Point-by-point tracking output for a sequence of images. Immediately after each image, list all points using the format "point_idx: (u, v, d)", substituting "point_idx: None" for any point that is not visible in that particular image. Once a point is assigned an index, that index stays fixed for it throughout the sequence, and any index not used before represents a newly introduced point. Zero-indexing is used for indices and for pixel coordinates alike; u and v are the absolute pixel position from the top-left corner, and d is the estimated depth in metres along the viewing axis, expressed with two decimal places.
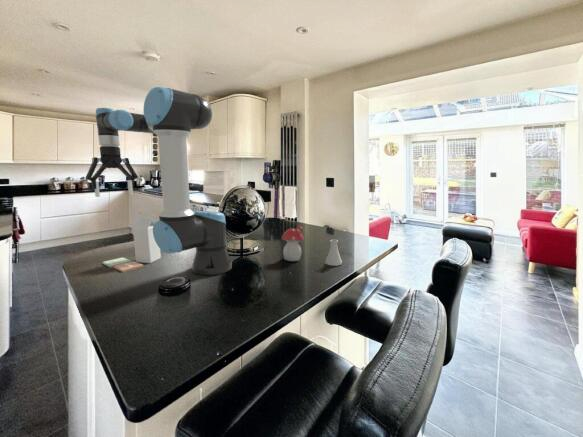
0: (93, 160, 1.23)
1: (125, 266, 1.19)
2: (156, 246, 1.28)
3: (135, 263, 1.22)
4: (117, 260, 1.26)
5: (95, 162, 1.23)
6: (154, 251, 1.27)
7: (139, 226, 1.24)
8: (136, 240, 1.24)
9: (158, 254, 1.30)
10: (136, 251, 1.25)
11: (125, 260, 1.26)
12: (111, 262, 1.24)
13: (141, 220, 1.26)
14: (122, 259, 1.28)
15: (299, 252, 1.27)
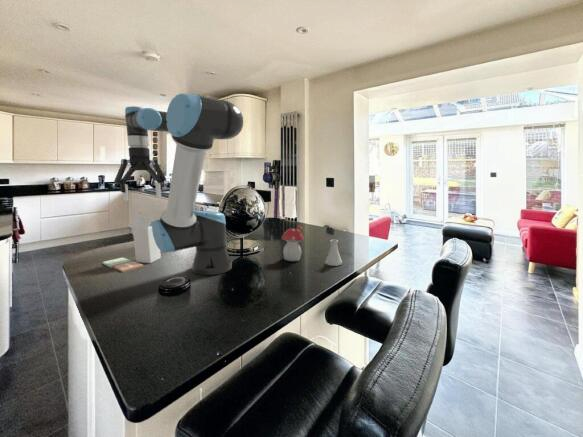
0: (122, 162, 1.16)
1: (125, 266, 1.19)
2: (156, 246, 1.28)
3: (135, 263, 1.22)
4: (117, 260, 1.26)
5: (124, 164, 1.16)
6: (154, 251, 1.27)
7: (139, 226, 1.24)
8: (136, 240, 1.24)
9: (158, 254, 1.30)
10: (136, 251, 1.25)
11: (125, 260, 1.26)
12: (111, 262, 1.24)
13: (141, 220, 1.26)
14: (122, 259, 1.28)
15: (299, 252, 1.27)
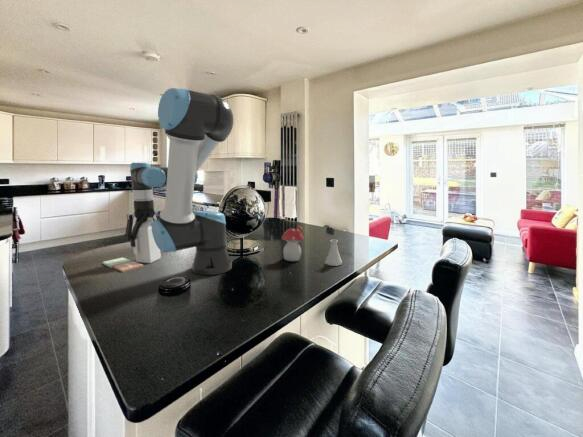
0: (128, 218, 1.20)
1: (125, 266, 1.19)
2: (156, 246, 1.28)
3: (135, 263, 1.22)
4: (117, 260, 1.26)
5: (131, 220, 1.20)
6: (154, 251, 1.27)
7: None
8: None
9: (158, 254, 1.30)
10: None
11: (125, 260, 1.26)
12: (111, 262, 1.24)
13: None
14: (122, 259, 1.28)
15: (299, 252, 1.27)
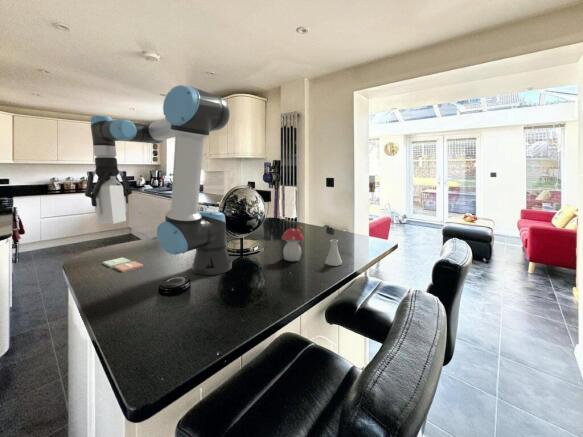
0: (88, 175, 1.14)
1: (125, 266, 1.19)
2: (120, 207, 1.22)
3: (135, 263, 1.22)
4: (117, 260, 1.26)
5: (91, 177, 1.14)
6: (117, 212, 1.20)
7: None
8: None
9: (123, 216, 1.23)
10: None
11: (125, 260, 1.26)
12: (111, 262, 1.24)
13: None
14: (122, 259, 1.28)
15: (299, 252, 1.27)
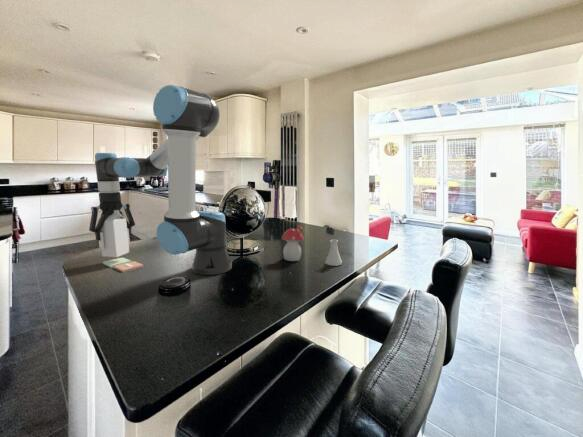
0: (92, 210, 1.16)
1: (125, 266, 1.19)
2: (123, 240, 1.24)
3: (135, 263, 1.22)
4: (117, 260, 1.26)
5: (95, 212, 1.16)
6: (121, 245, 1.23)
7: None
8: None
9: (126, 248, 1.26)
10: None
11: (125, 260, 1.26)
12: (111, 262, 1.24)
13: None
14: (122, 259, 1.28)
15: (299, 252, 1.27)
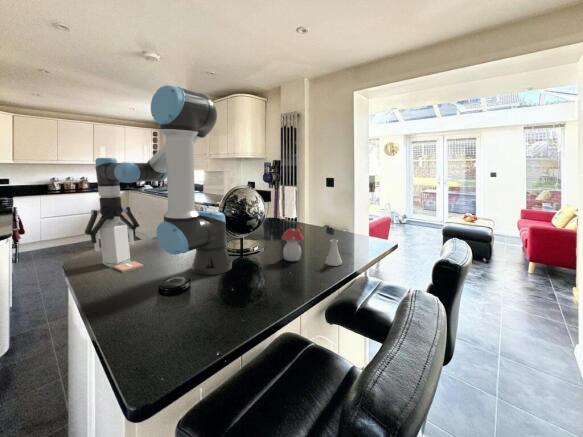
0: (92, 213, 1.16)
1: (125, 266, 1.19)
2: (124, 246, 1.24)
3: (135, 263, 1.22)
4: None
5: (95, 215, 1.16)
6: (121, 251, 1.23)
7: (106, 225, 1.20)
8: (102, 240, 1.21)
9: (127, 255, 1.26)
10: (103, 251, 1.22)
11: (125, 260, 1.26)
12: None
13: None
14: None
15: (299, 252, 1.27)
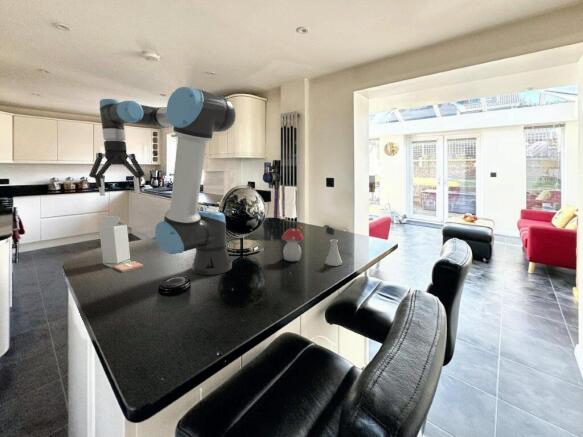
0: (97, 156, 1.13)
1: (125, 266, 1.19)
2: (124, 246, 1.24)
3: (135, 263, 1.22)
4: None
5: (100, 158, 1.13)
6: (121, 251, 1.23)
7: (105, 225, 1.20)
8: (102, 240, 1.21)
9: (127, 255, 1.26)
10: (103, 251, 1.22)
11: (125, 260, 1.26)
12: None
13: (108, 219, 1.22)
14: None
15: (299, 252, 1.27)
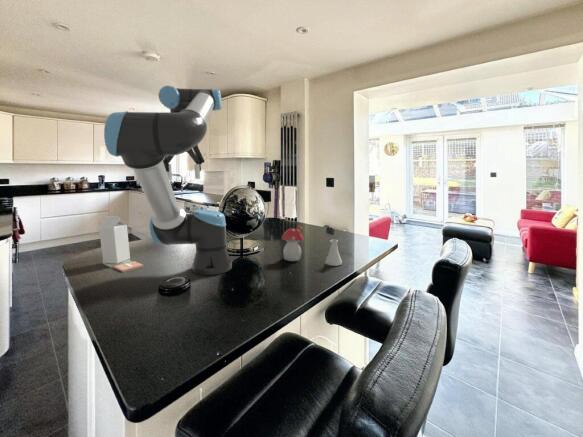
0: None
1: (125, 266, 1.19)
2: (124, 246, 1.24)
3: (135, 263, 1.22)
4: None
5: None
6: (121, 251, 1.23)
7: (105, 225, 1.20)
8: (102, 240, 1.21)
9: (127, 255, 1.26)
10: (103, 251, 1.22)
11: (125, 260, 1.26)
12: None
13: (108, 219, 1.22)
14: None
15: (299, 252, 1.27)
